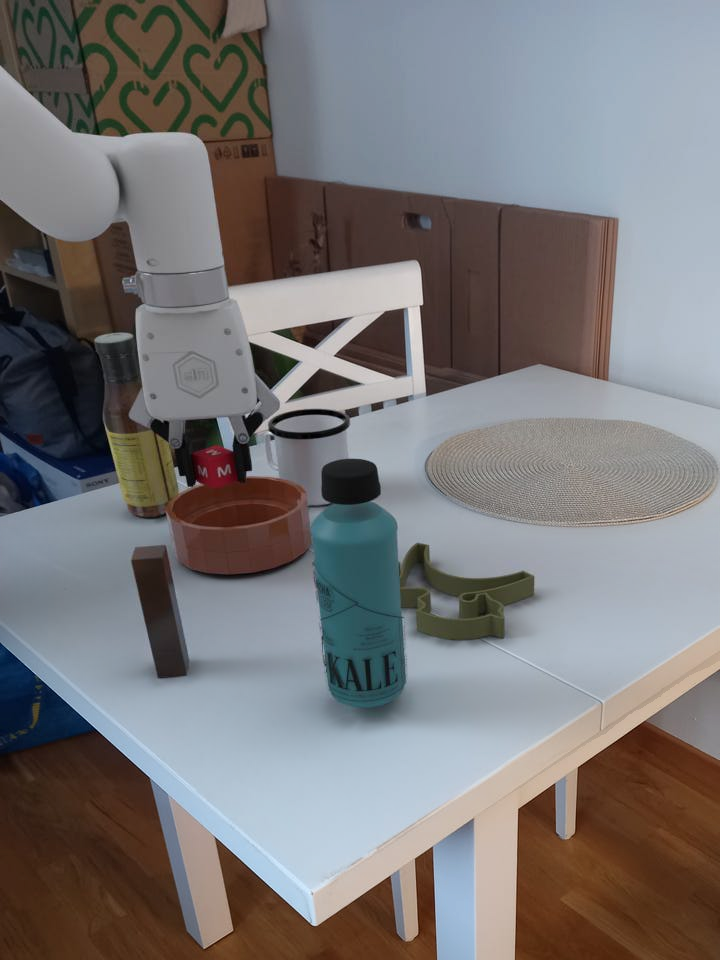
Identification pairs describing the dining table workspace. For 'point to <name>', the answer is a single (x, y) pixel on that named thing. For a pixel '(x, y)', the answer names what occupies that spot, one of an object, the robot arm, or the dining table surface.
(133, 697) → the dining table surface
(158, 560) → the stick
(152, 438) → the sauce bottle
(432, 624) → the cookie cutter
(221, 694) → the dining table surface
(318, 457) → the mug
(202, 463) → the red letter cube
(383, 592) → the beverage bottle
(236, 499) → the bowl
